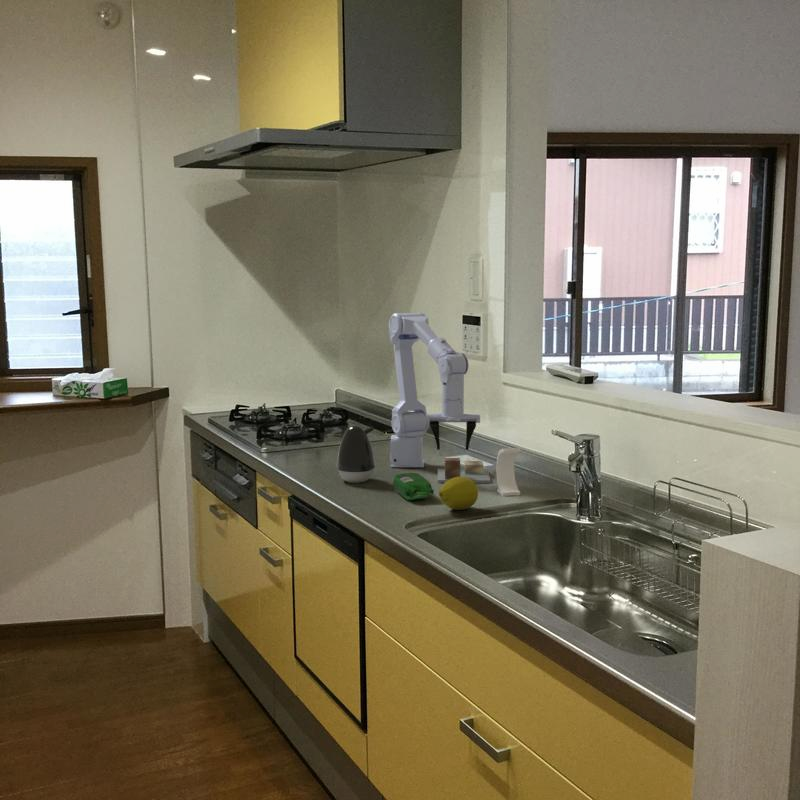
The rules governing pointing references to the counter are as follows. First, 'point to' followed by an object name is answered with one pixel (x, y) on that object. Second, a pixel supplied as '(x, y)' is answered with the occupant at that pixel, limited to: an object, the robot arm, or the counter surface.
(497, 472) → the headphone stand
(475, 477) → the board
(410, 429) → the robot arm
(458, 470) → the walnut block
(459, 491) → the lemon
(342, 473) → the egg-shaped speaker
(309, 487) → the counter surface
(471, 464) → the base block
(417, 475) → the snack package
